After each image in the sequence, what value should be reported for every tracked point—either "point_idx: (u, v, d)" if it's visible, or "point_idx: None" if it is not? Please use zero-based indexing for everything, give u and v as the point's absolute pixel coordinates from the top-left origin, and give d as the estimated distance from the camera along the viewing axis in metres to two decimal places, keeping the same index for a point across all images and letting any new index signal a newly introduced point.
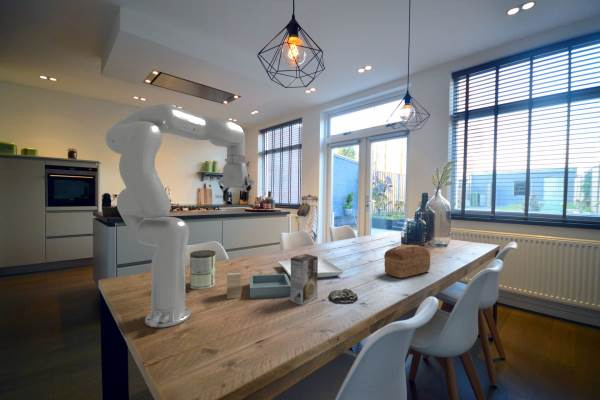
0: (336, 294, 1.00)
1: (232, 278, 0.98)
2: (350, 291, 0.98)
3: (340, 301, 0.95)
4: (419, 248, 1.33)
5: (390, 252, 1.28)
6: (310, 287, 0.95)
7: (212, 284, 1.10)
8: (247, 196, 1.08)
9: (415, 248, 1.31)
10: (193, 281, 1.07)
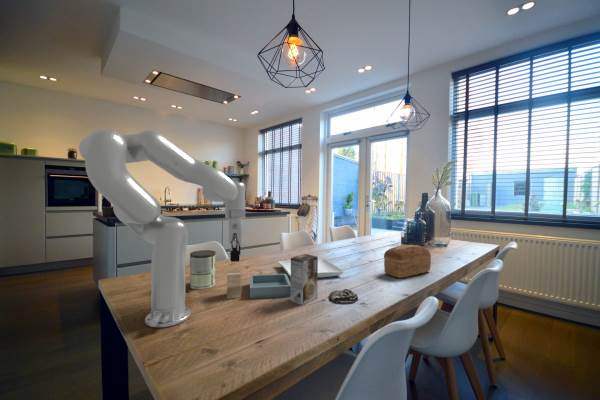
0: (336, 294, 1.00)
1: (232, 278, 0.98)
2: (350, 291, 0.98)
3: (340, 301, 0.95)
4: (419, 248, 1.33)
5: (390, 252, 1.28)
6: (310, 287, 0.95)
7: (212, 284, 1.10)
8: None
9: (415, 248, 1.31)
10: (193, 281, 1.07)
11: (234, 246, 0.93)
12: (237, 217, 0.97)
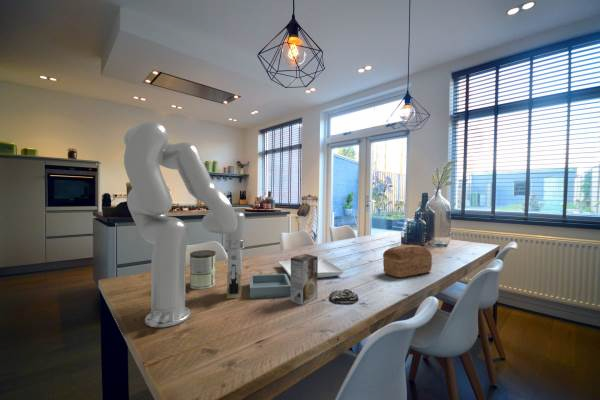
0: (337, 294, 1.00)
1: None
2: (350, 292, 0.97)
3: (340, 301, 0.94)
4: (419, 248, 1.32)
5: (388, 252, 1.29)
6: (310, 287, 0.95)
7: (212, 284, 1.10)
8: None
9: (415, 248, 1.31)
10: (193, 281, 1.07)
11: None
12: (236, 248, 0.97)
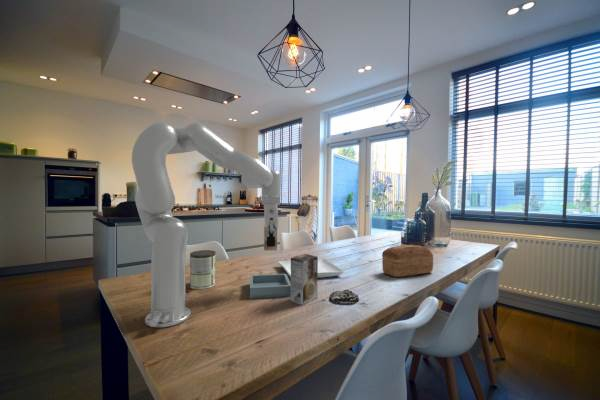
0: (337, 295, 1.00)
1: None
2: (351, 292, 0.97)
3: (340, 302, 0.94)
4: (419, 248, 1.32)
5: (387, 251, 1.30)
6: (310, 287, 0.95)
7: (212, 284, 1.10)
8: None
9: (414, 248, 1.30)
10: (193, 281, 1.07)
11: None
12: (273, 203, 1.03)
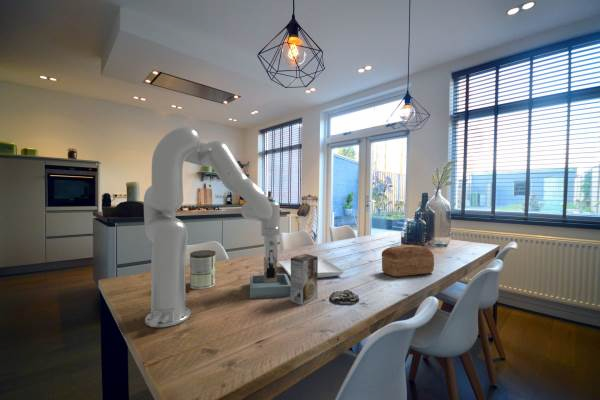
0: (337, 295, 0.99)
1: None
2: (351, 292, 0.97)
3: (339, 302, 0.94)
4: (419, 248, 1.31)
5: (386, 251, 1.31)
6: (310, 287, 0.95)
7: (212, 284, 1.10)
8: None
9: (414, 248, 1.30)
10: (193, 281, 1.07)
11: None
12: (273, 235, 1.03)
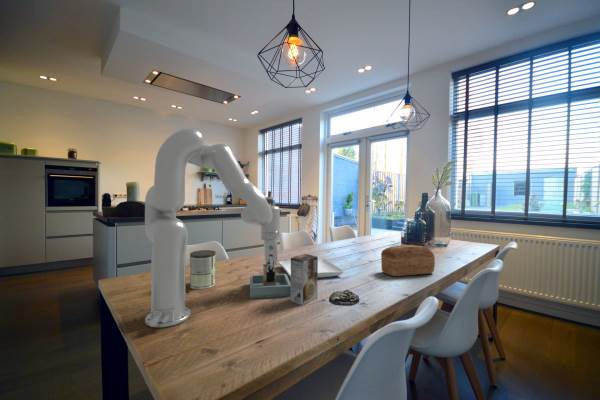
0: (337, 295, 0.99)
1: None
2: (351, 293, 0.96)
3: (339, 302, 0.94)
4: (419, 249, 1.31)
5: (385, 250, 1.31)
6: (310, 287, 0.95)
7: (212, 284, 1.10)
8: None
9: (414, 248, 1.30)
10: (193, 281, 1.07)
11: (271, 268, 1.00)
12: (273, 239, 1.03)
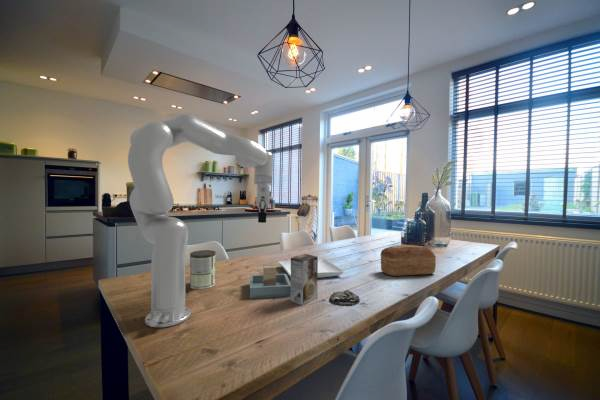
0: (338, 295, 0.99)
1: (268, 271, 1.04)
2: (351, 293, 0.96)
3: (339, 302, 0.93)
4: (419, 249, 1.31)
5: (384, 250, 1.32)
6: (310, 287, 0.95)
7: (212, 284, 1.10)
8: None
9: (413, 248, 1.30)
10: (193, 281, 1.07)
11: (262, 207, 1.02)
12: (265, 182, 1.06)
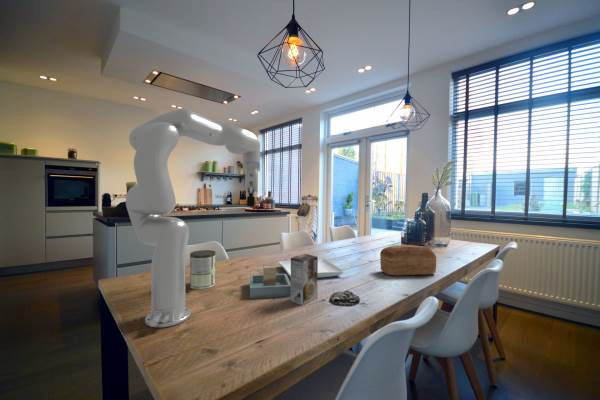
0: (338, 295, 0.99)
1: (268, 271, 1.04)
2: (351, 293, 0.96)
3: (339, 303, 0.93)
4: (419, 249, 1.31)
5: (383, 250, 1.33)
6: (310, 287, 0.95)
7: (212, 284, 1.10)
8: None
9: (413, 248, 1.30)
10: (193, 281, 1.07)
11: (251, 191, 1.07)
12: (253, 168, 1.11)
